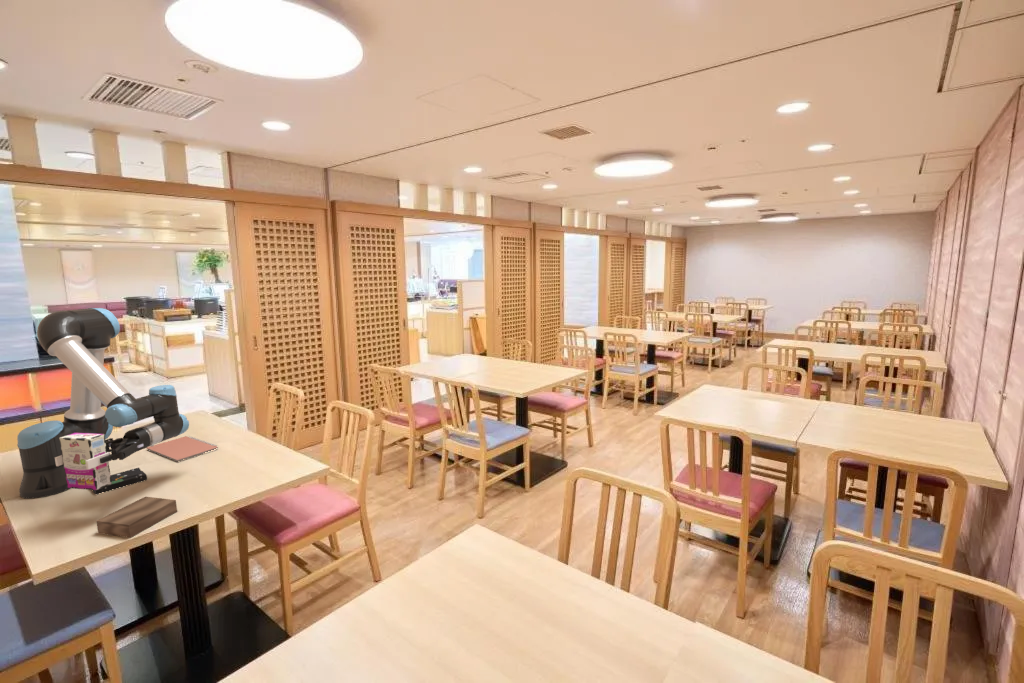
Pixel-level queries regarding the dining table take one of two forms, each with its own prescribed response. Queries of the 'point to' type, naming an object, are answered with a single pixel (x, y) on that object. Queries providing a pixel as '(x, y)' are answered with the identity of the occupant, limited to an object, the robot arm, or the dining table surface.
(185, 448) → the notebook
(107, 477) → the candy bar box
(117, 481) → the disk drive
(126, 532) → the wooden block
